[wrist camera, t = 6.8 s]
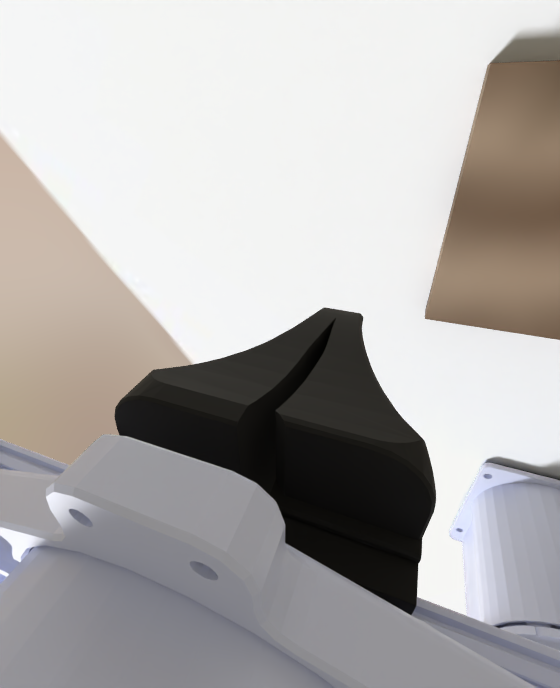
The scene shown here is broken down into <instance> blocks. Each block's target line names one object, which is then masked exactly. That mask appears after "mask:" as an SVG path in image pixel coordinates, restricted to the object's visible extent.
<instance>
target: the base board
mask: <svg viewBox="0 0 560 688" xmlns="http://www.w3.org/2000/svg"><path fill="white" fill-rule="evenodd" d="M425 319H430V320H436V321H442V322H449V323H455V324H462V325H468V326H475V327H481V328H487V329H494V330H500V331H507V332H513V333H519V334H526V335H532V336H539V337H545V338H551V339H558V340H560V61H535V62H509V63H490V64H489V65H488V66H487V70H486V74H485V78H484V82H483V86H482V90H481V94H480V98H479V102H478V106H477V110H476V114H475V117H474V121H473V125H472V129H471V133H470V137H469V141H468V145H467V149H466V153H465V157H464V161H463V165H462V169H461V173H460V176H459V180H458V184H457V188H456V192H455V196H454V200H453V204H452V208H451V212H450V216H449V220H448V224H447V228H446V231H445V235H444V239H443V243H442V247H441V251H440V255H439V259H438V263H437V267H436V271H435V275H434V279H433V283H432V287H431V290H430V294H429V298H428V302H427V306H426V310H425Z"/></svg>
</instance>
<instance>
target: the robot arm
mask: <svg viewBox="0 0 560 688" xmlns="http://www.w3.org/2000/svg"><path fill="white" fill-rule="evenodd" d="M362 322H363V316H362V315H361V314H360V313H354V312H348V311H342V310H336V309H330V308H323V309H321V310H320V311H318V312H317V313H315V314H314V315H312V316H311V317H309V318H308V319H306V320H305V321H303V322H301V323H300V324H298V325H297V326H295V327H294V328H292V329H290V330H288V331H286V332H285V333H283V334H281V335H279V336H277V337H276V338H274V339H272V340H270V341H268V342H265V343H263V344H261V345H259V346H256V347H254V348H251V349H249V350H246V351H243V352H240V353H237V354H234V355H230V356H227V357H224V358H221V359H217V360H212V361H208V362H204V363H199V364H194V365H188V366H181V367H173V368H165V369H157V370H153V371H151V373H149V374H148V375H147V376H146V377H145V378H144V379H143V380H142V381H141V382H140V383H138V385H136V386H135V387H134V388H133V389H132V390H131V391H130V392H129V393H128V394H127V395H126V396H125V397H124V398H122V399H121V400H120V402H119V403H118V405H117V406H116V409H115V421H116V425H117V429H118V432H119V435H111V434H109V435H108V434H103V435H102V436H101V437H99V438H98V439H97V440H95V441H94V442H93V443H92V444H91V445H90V446H89V447H88V448H87V449H86V450H85V451H84V452H83V453H82V454H81V455H80V456H79V457H78V458H77V459H76V460H75V461H74V462H73V463H72V464H71V465H67V464H65V463H62V462H59V461H57V460H54V459H52V458H49V457H46V456H44V455H41V454H38V453H36V452H33V451H31V450H28V449H25V448H23V447H19V446H17V445H15V444H12V443H9V442H7V441H4V440H2V439H0V688H560V480H557V479H553V478H549V477H545V476H541V475H537V474H533V473H529V472H525V471H521V470H517V469H513V468H509V467H505V466H501V465H498V464H494V463H484V464H483V465H482V466H481V468H480V470H479V472H478V474H477V476H476V478H475V480H474V482H473V484H472V486H471V488H470V490H469V492H468V494H467V496H466V498H465V500H464V502H463V504H462V506H461V508H460V510H459V512H458V514H457V516H456V518H455V520H454V522H453V524H452V526H451V528H450V530H449V536H450V537H451V538H452V539H455V540H458V541H461V542H462V546H463V563H464V579H465V595H466V611H467V616H465V615H463V614H460V613H458V612H455V611H452V610H450V609H447V608H444V607H442V606H439V605H437V604H434V603H431V602H429V601H426V600H423V599H421V598H418V597H417V580H418V563H419V562H420V560H421V553H422V537H423V535H424V533H425V530H426V528H427V526H428V524H429V521H430V519H431V517H432V514H433V512H434V508H435V503H436V490H435V482H434V476H433V470H432V466H431V462H430V458H429V454H428V451H427V447H426V444H425V441H424V440H423V439H422V438H421V437H420V436H419V435H418V433H417V432H416V431H415V430H414V429H413V428H412V427H411V426H410V425H409V424H408V423H407V422H406V421H405V420H404V419H403V418H402V417H401V416H400V414H399V413H398V412H397V411H396V409H395V408H394V406H393V405H392V404H391V402H390V401H389V399H388V398H387V396H386V395H385V393H384V392H383V390H382V388H381V386H380V384H379V383H378V381H377V379H376V377H375V374H374V372H373V370H372V368H371V365H370V362H369V359H368V356H367V353H366V350H365V346H364V341H363V336H362Z"/></svg>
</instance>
